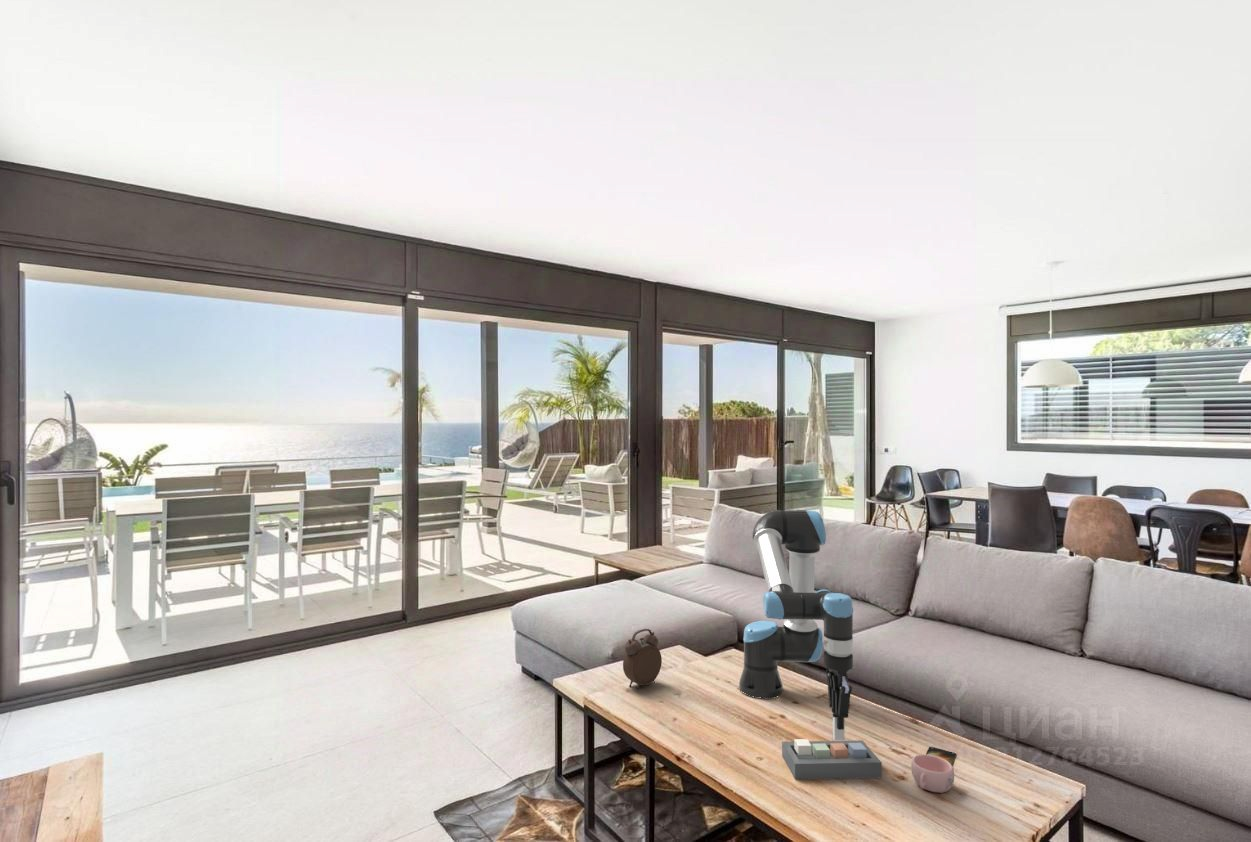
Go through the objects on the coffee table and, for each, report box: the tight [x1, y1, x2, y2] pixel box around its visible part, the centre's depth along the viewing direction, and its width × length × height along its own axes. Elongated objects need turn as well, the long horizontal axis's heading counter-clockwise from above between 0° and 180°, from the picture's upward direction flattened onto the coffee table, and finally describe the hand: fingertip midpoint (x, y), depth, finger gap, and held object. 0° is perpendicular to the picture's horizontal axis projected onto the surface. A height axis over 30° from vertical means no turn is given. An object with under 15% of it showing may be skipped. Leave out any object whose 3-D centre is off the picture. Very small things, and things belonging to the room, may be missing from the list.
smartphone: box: [925, 746, 957, 767], centre depth 173 cm, size 7×1×15 cm
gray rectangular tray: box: [781, 740, 883, 780], centre depth 170 cm, size 12×23×4 cm, turn 92°
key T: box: [830, 743, 848, 759], centre depth 170 cm, size 4×4×2 cm
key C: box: [812, 743, 830, 759], centre depth 170 cm, size 4×4×2 cm
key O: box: [793, 738, 812, 755], centre depth 170 cm, size 4×4×2 cm
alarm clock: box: [622, 628, 662, 690], centre depth 227 cm, size 15×7×20 cm, turn 130°
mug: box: [910, 753, 955, 793], centre depth 160 cm, size 12×10×6 cm
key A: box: [848, 743, 867, 759], centre depth 171 cm, size 4×4×2 cm
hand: (838, 738), depth 171 cm, fingers closed
